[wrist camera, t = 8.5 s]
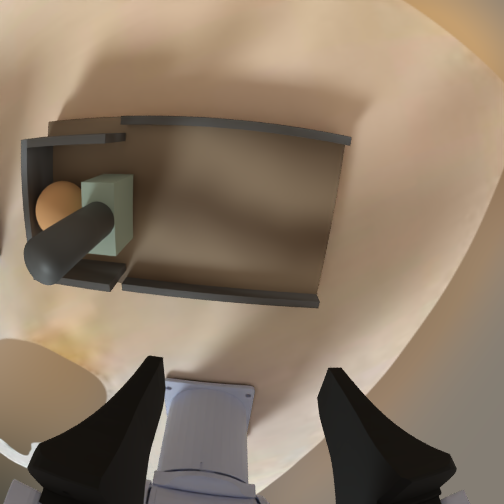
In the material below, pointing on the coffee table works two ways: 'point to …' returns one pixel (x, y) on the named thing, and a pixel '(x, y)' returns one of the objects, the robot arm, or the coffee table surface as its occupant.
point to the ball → (57, 203)
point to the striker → (85, 229)
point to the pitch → (200, 204)
